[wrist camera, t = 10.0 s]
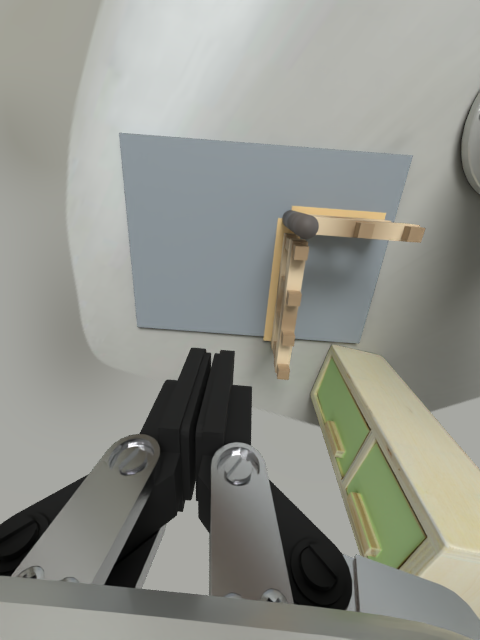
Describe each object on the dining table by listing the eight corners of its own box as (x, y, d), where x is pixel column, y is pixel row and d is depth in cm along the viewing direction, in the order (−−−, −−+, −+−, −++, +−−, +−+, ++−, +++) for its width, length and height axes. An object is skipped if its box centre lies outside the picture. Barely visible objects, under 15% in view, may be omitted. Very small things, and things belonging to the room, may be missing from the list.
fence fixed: (378, 216, 27) (434, 224, 18) (373, 233, 27) (426, 248, 19) (282, 209, 26) (297, 214, 18) (280, 226, 27) (293, 238, 19)
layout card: (409, 156, 24) (413, 155, 24) (356, 345, 32) (358, 347, 32) (121, 134, 24) (118, 132, 24) (139, 328, 32) (137, 331, 32)
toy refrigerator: (325, 340, 32) (437, 547, 13) (383, 353, 33) (572, 571, 14) (303, 392, 36) (367, 619, 16) (356, 403, 36) (478, 637, 17)
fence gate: (283, 232, 26) (294, 243, 20) (295, 232, 26) (311, 244, 20) (270, 341, 31) (276, 379, 25) (280, 341, 31) (289, 379, 25)
